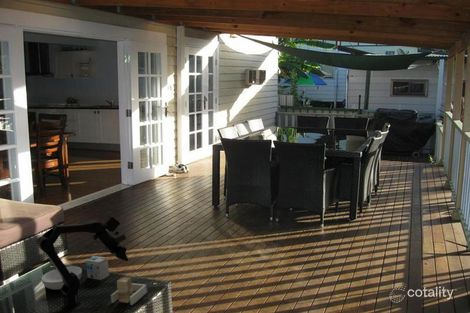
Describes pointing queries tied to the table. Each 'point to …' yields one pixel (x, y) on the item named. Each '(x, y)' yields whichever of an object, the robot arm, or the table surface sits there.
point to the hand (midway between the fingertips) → (124, 258)
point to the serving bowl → (58, 277)
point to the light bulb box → (97, 267)
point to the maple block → (124, 289)
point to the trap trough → (138, 292)
